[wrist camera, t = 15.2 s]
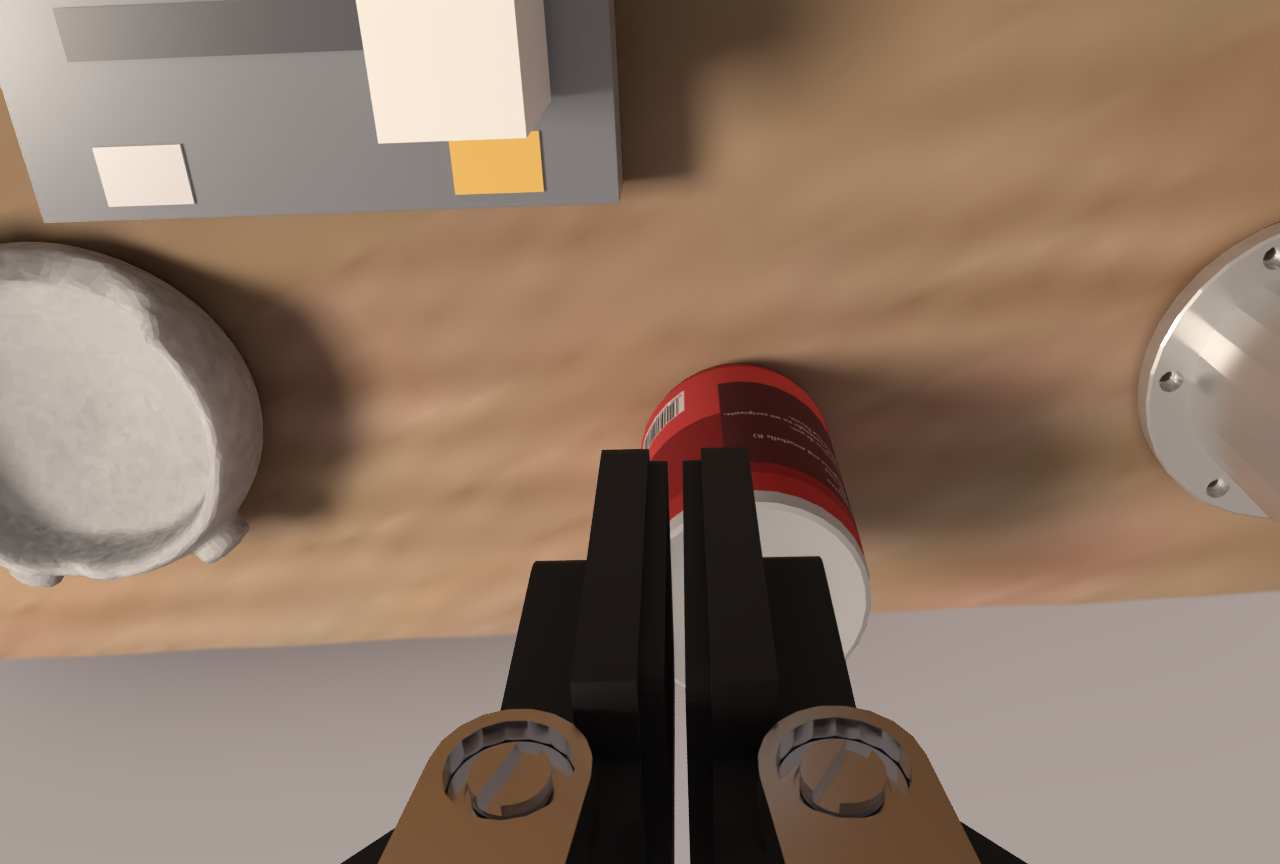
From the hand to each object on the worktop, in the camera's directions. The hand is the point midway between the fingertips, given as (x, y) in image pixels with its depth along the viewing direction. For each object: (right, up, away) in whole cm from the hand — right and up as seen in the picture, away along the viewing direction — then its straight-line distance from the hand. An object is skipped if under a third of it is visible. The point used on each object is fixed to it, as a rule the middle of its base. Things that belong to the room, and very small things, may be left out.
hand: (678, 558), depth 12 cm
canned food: (+3, +1, +30) cm, 30 cm away
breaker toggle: (-5, +14, +19) cm, 25 cm away
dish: (-22, +3, +30) cm, 38 cm away
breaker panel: (-11, +16, +23) cm, 30 cm away
